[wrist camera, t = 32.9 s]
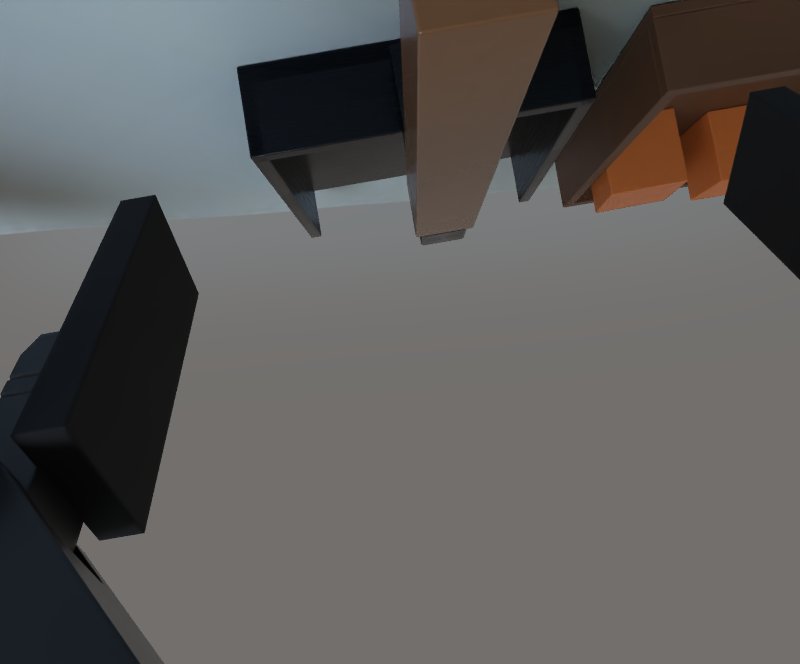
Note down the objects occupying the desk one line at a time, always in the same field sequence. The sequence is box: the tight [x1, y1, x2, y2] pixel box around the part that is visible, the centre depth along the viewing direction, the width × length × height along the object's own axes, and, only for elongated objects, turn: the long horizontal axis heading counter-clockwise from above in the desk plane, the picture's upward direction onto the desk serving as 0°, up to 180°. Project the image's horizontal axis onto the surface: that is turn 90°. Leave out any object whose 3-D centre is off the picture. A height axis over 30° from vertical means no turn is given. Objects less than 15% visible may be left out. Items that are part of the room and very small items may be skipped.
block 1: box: [591, 108, 688, 213], centre depth 37 cm, size 4×4×4 cm
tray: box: [555, 0, 800, 207], centre depth 33 cm, size 17×14×4 cm
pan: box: [237, 0, 596, 245], centre depth 23 cm, size 29×13×8 cm, turn 1°
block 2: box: [680, 105, 747, 200], centre depth 38 cm, size 4×4×4 cm
